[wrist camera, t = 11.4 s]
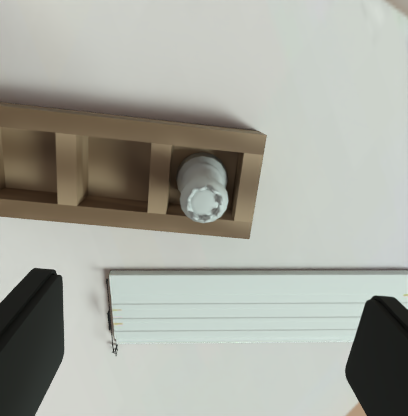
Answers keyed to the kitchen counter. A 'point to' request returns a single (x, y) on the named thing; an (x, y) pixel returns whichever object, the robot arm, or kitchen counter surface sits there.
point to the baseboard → (245, 304)
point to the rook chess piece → (202, 187)
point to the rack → (119, 169)
